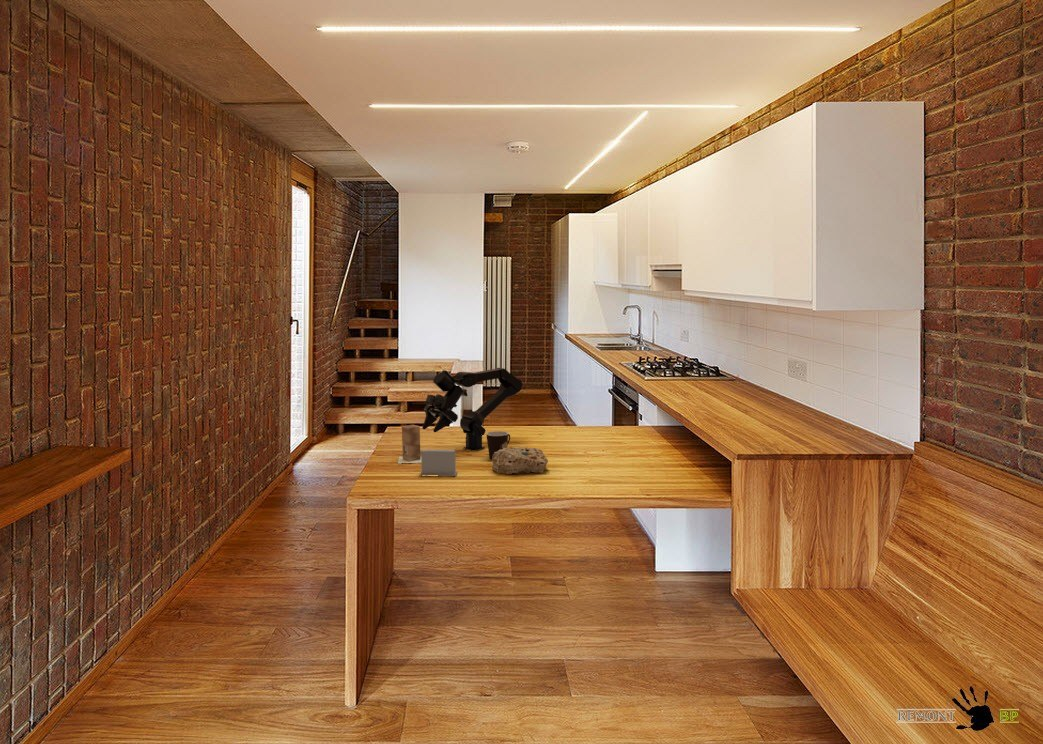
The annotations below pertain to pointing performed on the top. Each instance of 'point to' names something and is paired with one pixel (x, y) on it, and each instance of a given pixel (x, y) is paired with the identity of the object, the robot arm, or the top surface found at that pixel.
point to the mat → (407, 461)
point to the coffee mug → (497, 441)
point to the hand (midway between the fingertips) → (428, 430)
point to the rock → (519, 460)
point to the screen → (438, 462)
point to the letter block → (411, 442)
